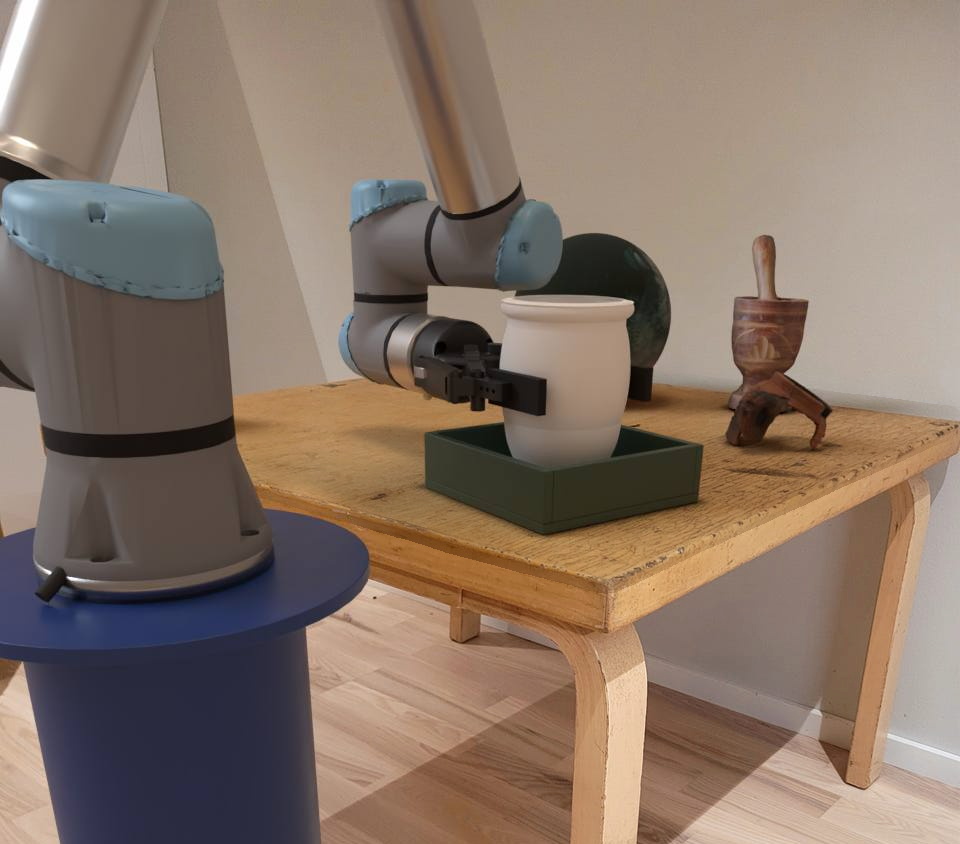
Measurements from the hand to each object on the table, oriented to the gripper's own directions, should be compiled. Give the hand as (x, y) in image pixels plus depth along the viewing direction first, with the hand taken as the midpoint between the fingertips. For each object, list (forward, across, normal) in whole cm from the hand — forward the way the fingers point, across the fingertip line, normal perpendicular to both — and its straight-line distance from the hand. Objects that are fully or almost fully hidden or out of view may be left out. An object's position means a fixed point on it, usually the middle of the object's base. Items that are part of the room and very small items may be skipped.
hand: (597, 391), depth 75 cm
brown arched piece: (-7, -31, -10) cm, 33 cm away
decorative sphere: (-38, -33, -10) cm, 51 cm away
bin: (-4, 0, -9) cm, 10 cm away
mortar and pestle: (-23, -47, -10) cm, 53 cm away
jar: (-4, 0, -9) cm, 10 cm away
